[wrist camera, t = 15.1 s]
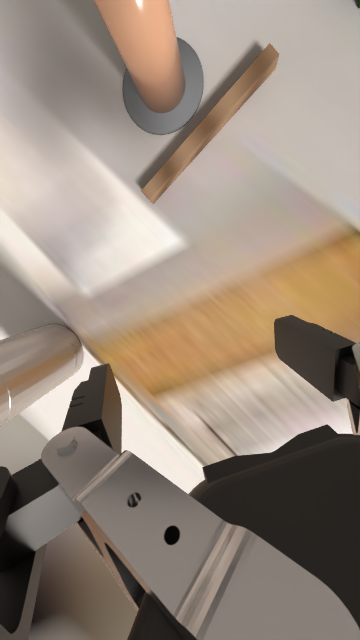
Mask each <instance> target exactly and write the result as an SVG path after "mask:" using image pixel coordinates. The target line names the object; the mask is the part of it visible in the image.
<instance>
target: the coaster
mask: <svg viewBox="0 0 360 640" xmlns="http://www.w3.org/2000/svg"><path fill="white" fill-rule="evenodd" d="M177 42H178V47H179V52H180V56H181V61H182V66H183V71H184V76H185V82H186V84H185V92H184V95H183V98H182V100H181V101H180V103H179V104H178V105H177V106H176V107H175V108H174V109H173V110H171V111H170V112H167V113H155V112H153V111H151V110H150V109H149V108H148V107H147V106H146V105H145V103H144V102H143V100H142V98H141V95H140V93H139V91H138V89H137V87H136V85H135V83H134V81H133V79H132V77H131V75H130V73H129V71H128V69H126V72H125V75H124V81H123V96H124V102H125V105H126V108H127V111H128V113H129V115H130V116H131V118H132V119H133V121H134V122H135V123H136V124H137V125H138V126H139V127H140V128H141V129H143V130H144V131H146V132H149V133H151V134H156V135H165V134H169V133H172V132H175V131H177V130H179V129H180V128H182V127H183V126H184V125H185V124H187V123H188V122H189V120H190V119H191V118H192V117H193V115H194V114H195V112H196V110H197V108H198V106H199V104H200V101H201V97H202V93H203V71H202V66H201V63H200V60H199V58H198V56H197V54H196V52H195V51H194V49H193V48H192V47H191V46H190V45H189V44H188V43H187V42H185V41H184V40H182V39H180V38H177Z"/></svg>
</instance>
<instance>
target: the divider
mask: <svg viewBox="0 0 360 640" xmlns="http://www.w3.org/2000/svg"><path fill="white" fill-rule="evenodd" d="M278 57H279V53H278V52H277V51H276V50H275V49H274V48H273V46H272V45H271V44H270V43H269V45H268V46H267V47H266V48H265V49H264V50H263V52H262V53H261V54H260V55H259V56H258V57H257V58H256V60H255V61H254V62H253V63H252V64H251V65H250V66H249V68H248V69H247V70H246V71H245V72H244V73H243V74H242V76H241V77H240V78H239V79H238V80H237V81H236V82H235V84H234V85H233V86H232V87H231V88H230V89H229V91H228V92H227V93H226V94H225V95H224V96H223V97H222V99H221V100H220V101H219V102H218V103H217V104H216V105H215V107H214V108H213V109H212V110H211V111H210V112H209V113H208V115H207V116H206V117H205V118H204V119H203V120H202V121H201V123H200V124H199V125H198V126H197V127H196V128H195V130H194V131H193V132H192V133H191V134H190V135H189V136H188V138H187V139H186V140H185V141H184V142H183V143H182V144H181V146H180V147H179V148H178V149H177V150H176V151H175V152H174V154H173V155H172V156H171V157H170V158H169V159H168V160H167V162H166V163H165V164H164V165H163V166H162V167H161V169H160V170H159V171H158V172H157V173H156V174H155V175H154V177H153V178H152V179H151V180H150V181H149V182H148V183H147V185H146V186H145V187H144V188H143V189H142V190H141V191H142V193H143V194H144V195H145V196H146V197H147V198H148V199H149V200H150V201H151V202H152V203H153V204H154V202H155V201H156V200H157V199H158V198H159V197H160V196H161V195H162V194H163V193H164V191H165V190H166V189H167V188H168V187H169V186H170V185H171V184H172V183H173V181H174V180H175V179H176V178H177V177H178V176H179V175H180V174H181V173H182V172H183V170H184V169H185V168H186V167H187V166H188V165H189V164H190V163H191V162H192V160H193V159H194V158H195V157H196V156H197V155H198V154H199V153H200V152H201V151H202V149H203V148H204V147H205V146H206V145H207V144H208V143H209V142H210V141H211V139H212V138H213V137H214V136H215V135H216V134H217V133H218V132H219V131H220V130H221V128H222V127H223V126H224V125H225V124H226V123H227V122H228V121H229V120H230V118H231V117H232V116H233V115H234V114H235V113H236V112H237V111H238V110H239V109H240V107H241V106H242V105H243V104H244V103H245V102H246V101H247V100H248V99H249V97H250V96H251V95H252V94H253V93H254V92H255V91H256V90H257V89H258V88H259V86H260V85H261V84H262V83H263V82H264V81H265V80H266V79H267V78H268V77H269V75H270V74H271V73H272V72H273V71H274V70H275V68H276V65H277V61H278Z"/></svg>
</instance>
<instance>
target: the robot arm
mask: <svg viewBox="0 0 360 640" xmlns="http://www.w3.org/2000/svg"><path fill="white" fill-rule="evenodd" d="M274 333H275V350H276V353H277V355H278V357H279V359H280V360H281V361H283V362H284V363H285V364H286V365H288V366H289V367H290V368H291V369H293V370H294V371H295V372H296V373H298V374H299V375H300V376H301V377H303V378H304V379H305V380H306V381H308V382H309V383H310V384H311V385H313V386H314V387H315V388H316V389H318V390H319V391H320V392H321V393H323V394H324V395H325V396H326V397H328V398H329V399H330V400H331V401H333V402H334V401H337V400H340V399H343V398H347V399H348V403H347V408H348V413H349V417H350V422H351V427H352V432H353V434H337V433H336V432H335V431H334V430H333V429H332V428H331V427H330V426H329V425H328V424H327V425H324V426H321V427H319V428H316V429H313V430H310V431H307V432H304V433H301V434H298V435H297V436H296V437H294V438H293V439H291V440H290V441H288V442H287V443H286V444H284V445H283V446H281V447H280V448H279V449H277V450H276V451H274V452H272V453H264V454H253V455H242V456H234V457H231V458H228V459H225V460H222V461H219V462H216V463H214V464H211V465H208V466H205V467H202V468H203V472H204V477H205V480H204V481H202V482H201V483H199V484H198V485H197V486H196V487H195V488H194V489H193V490H192V491H191V492H190V493H189V494H187V493H186V492H184V491H183V490H182V489H180V488H179V487H178V486H176V485H175V484H173V483H172V482H171V481H169V480H168V479H167V478H165V477H164V476H163V475H161V474H160V473H159V472H157V471H156V470H154V469H153V468H152V467H150V466H149V465H148V464H146V463H145V462H144V461H142V460H141V459H140V458H138V457H137V456H136V455H134V454H133V453H131V452H130V451H127V450H125V451H124V452H123V453H122V454H121V436H122V404H121V398H120V393H119V390H118V387H117V384H116V381H115V378H114V375H113V372H112V369H111V367H110V365H109V363H108V364H104V365H100V366H97V367H93V368H91V371H90V375H89V380H87V381H84V382H81V383H80V384H79V386H78V387H77V388H76V389H75V390H74V393H73V396H72V401H71V402H70V406H69V407H70V408H69V409H68V412H67V415H66V419H65V422H64V425H63V428H62V432H60V433H59V434H57V435H56V436H55V437H53V438H52V439H51V440H50V441H49V442H48V443H47V445H46V446H45V447H44V449H43V451H42V454H41V459H39V460H38V461H36V462H35V463H33V464H31V465H29V466H28V467H25V468H24V469H22V470H20V471H18V472H16V473H15V474H13V475H11V473H10V472H9V471H8V469H7V468H6V467H0V640H28V636H29V631H30V626H31V621H32V616H33V610H34V606H35V600H36V595H37V590H38V585H39V579H40V575H41V569H42V564H43V559H44V554H45V549H46V544H47V542H49V541H50V540H51V539H53V538H54V537H56V536H57V535H59V534H60V533H62V532H63V531H64V530H66V529H67V528H69V527H70V526H72V525H73V524H75V523H76V524H77V526H78V527H79V528H80V530H81V531H82V532H83V534H84V535H85V537H86V538H87V539H88V541H89V542H90V543H91V545H92V546H93V547H94V549H95V550H96V551H97V553H98V554H99V555H100V557H101V558H102V560H103V561H104V562H105V564H106V565H107V566H108V568H109V569H110V571H111V572H112V574H113V576H114V577H115V579H116V581H117V582H118V584H119V585H120V587H121V588H122V590H123V591H124V593H125V594H126V595H127V597H128V598H129V600H130V601H131V602H132V604H133V605H134V607H135V608H136V609H137V611H138V613H137V616H136V618H135V621H134V623H133V626H132V629H131V631H130V634H129V636H128V639H127V640H360V342H359V343H355V342H353V341H351V340H349V339H346V338H344V337H342V336H340V335H338V334H336V333H333V332H332V331H329V330H327V329H326V330H325V328H323V327H321V326H319V325H317V324H313V323H309V322H306V321H304V320H301V319H299V318H297V317H295V316H293V315H289V316H285V317H281V318H278V319H276V320H275V322H274ZM82 362H83V349H82V345H81V343H80V341H79V339H78V338H77V336H76V335H75V334H74V333H73V332H72V331H71V330H69V329H68V328H66V327H64V326H62V325H57V324H50V325H46V326H43V327H40V328H37V329H34V330H30V331H27V332H24V333H21V334H18V335H15V336H12V337H9V338H6V339H2V340H0V426H1V425H3V424H4V423H6V422H7V421H9V420H10V419H11V418H13V417H14V416H15V415H17V414H18V413H20V412H21V411H23V410H24V409H26V408H27V407H28V406H30V405H31V404H33V403H34V402H35V401H37V400H38V399H40V398H41V397H42V396H44V395H45V394H47V393H48V392H49V391H51V390H52V389H54V388H55V387H57V386H58V385H59V384H61V383H62V382H64V381H65V380H67V379H68V378H69V377H71V376H72V375H74V374H75V373H76V372H77V371H78V370H79V369H80V367H81V365H82Z"/></svg>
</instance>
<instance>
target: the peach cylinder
mask: <svg viewBox="0 0 360 640" xmlns="http://www.w3.org/2000/svg"><path fill="white" fill-rule="evenodd" d="M94 2H95V4H96V6H97V8H98V10H99V12H100V14H101V16H102V18H103V20H104V22H105V24H106V26H107V28H108V30H109V32H110V34H111V36H112V38H113V40H114V42H115V44H116V46H117V49H118V51H119V53H120V55H121V57H122V59H123V61H124V63H125V65H126V67H127V69H128V71H129V73H130V75H131V77H132V79H133V81H134V83H135V85H136V87H137V89H138V91H139V93H140V95H141V98H142V100H143V102H144V103H145V105H146V106H147V107H148V108H149V109H150V110H151V111H153V112H155V113H167V112H170V111H171V110H173V109H174V108H175V107H176V106H177V105H178V104H179V103H180V101H181V100H182V98H183V95H184V92H185V84H186V82H185V76H184V71H183V66H182V61H181V56H180V52H179V47H178V42H177V37H176V33H175V28H174V23H173V18H172V13H171V9H170V4H169V0H94Z"/></svg>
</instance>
